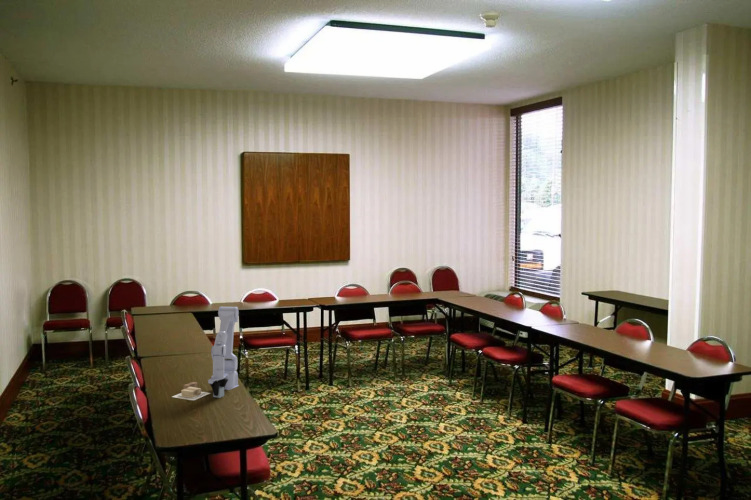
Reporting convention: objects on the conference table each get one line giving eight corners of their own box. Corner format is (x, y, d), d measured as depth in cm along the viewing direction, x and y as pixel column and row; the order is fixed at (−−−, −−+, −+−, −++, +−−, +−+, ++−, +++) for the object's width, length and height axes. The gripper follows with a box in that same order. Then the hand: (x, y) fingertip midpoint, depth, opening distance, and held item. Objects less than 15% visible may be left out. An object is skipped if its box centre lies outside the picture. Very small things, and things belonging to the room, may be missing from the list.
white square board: (189, 390, 339) (189, 389, 339) (211, 393, 333) (211, 392, 333) (171, 397, 326) (171, 396, 326) (193, 400, 320) (193, 400, 320)
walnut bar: (192, 387, 344) (193, 382, 344) (197, 388, 343) (197, 382, 343) (183, 390, 336) (183, 384, 336) (187, 391, 335) (188, 385, 335)
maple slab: (190, 392, 334) (190, 386, 334) (201, 394, 331) (201, 388, 331) (181, 395, 328) (181, 390, 327) (192, 397, 325) (192, 391, 325)
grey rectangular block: (217, 395, 330) (217, 386, 330) (224, 396, 329) (224, 386, 329) (213, 397, 327) (213, 387, 326) (219, 398, 325) (219, 388, 325)
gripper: (220, 364, 335) (220, 389, 336) (203, 370, 322) (203, 396, 323) (232, 365, 332) (232, 391, 333) (214, 372, 319) (214, 398, 320)
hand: (218, 394), depth 328 cm, fingers closed on grey rectangular block, 4 cm apart
